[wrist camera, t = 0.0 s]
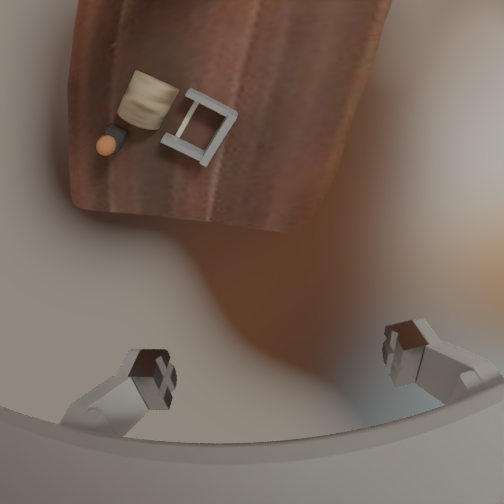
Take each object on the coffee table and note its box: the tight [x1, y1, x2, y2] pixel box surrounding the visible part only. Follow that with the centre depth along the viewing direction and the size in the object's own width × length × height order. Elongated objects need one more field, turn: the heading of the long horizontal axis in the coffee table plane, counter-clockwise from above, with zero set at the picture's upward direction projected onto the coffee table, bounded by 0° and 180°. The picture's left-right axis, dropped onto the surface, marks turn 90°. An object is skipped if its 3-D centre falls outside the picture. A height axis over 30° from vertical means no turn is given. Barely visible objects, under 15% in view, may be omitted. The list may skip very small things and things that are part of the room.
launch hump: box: [117, 70, 180, 130], centre depth 51 cm, size 9×10×10 cm
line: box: [175, 101, 199, 138], centre depth 53 cm, size 9×1×1 cm, turn 148°
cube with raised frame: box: [103, 124, 128, 153], centre depth 53 cm, size 4×4×4 cm
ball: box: [96, 135, 116, 156], centre depth 50 cm, size 4×4×4 cm
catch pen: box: [161, 88, 238, 167], centre depth 53 cm, size 12×10×4 cm
